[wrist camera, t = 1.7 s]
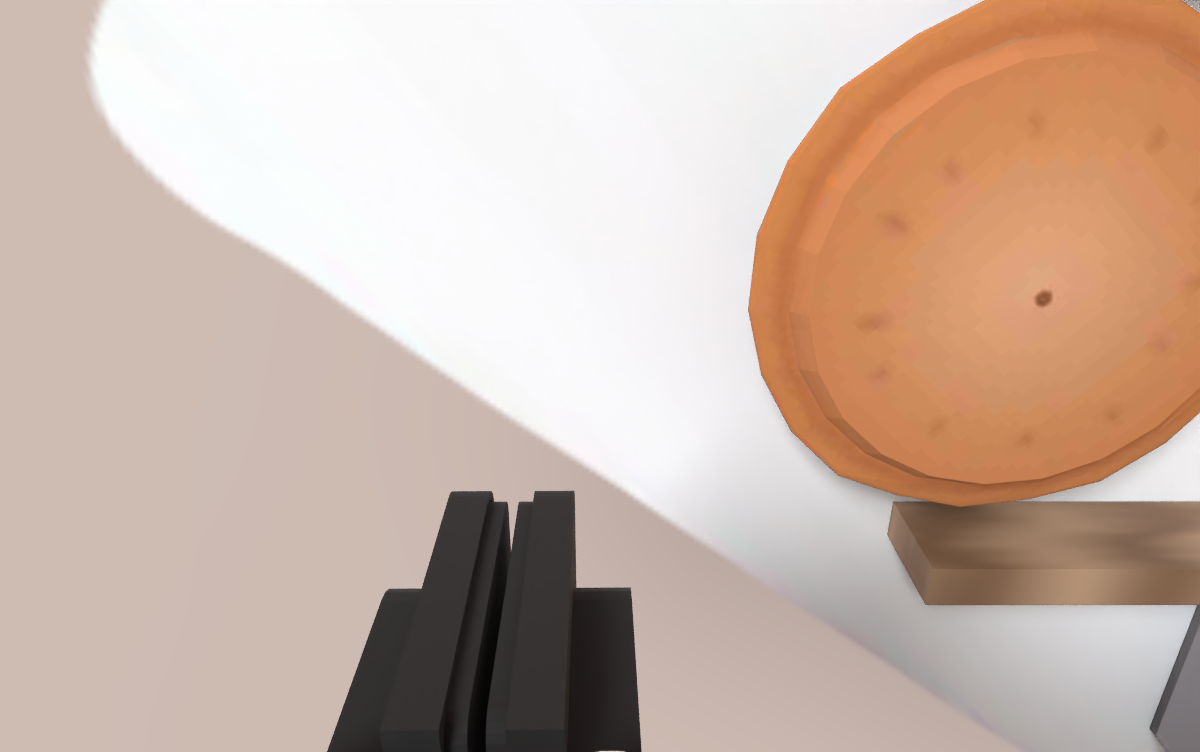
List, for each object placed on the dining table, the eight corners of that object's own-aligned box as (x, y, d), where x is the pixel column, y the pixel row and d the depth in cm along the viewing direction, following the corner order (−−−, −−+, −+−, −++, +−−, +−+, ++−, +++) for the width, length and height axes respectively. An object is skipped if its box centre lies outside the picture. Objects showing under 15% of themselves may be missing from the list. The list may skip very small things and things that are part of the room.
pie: (717, 22, 24) (745, 25, 19) (1263, -47, 23) (1428, -60, 18) (740, 472, 30) (765, 555, 25) (1167, 430, 29) (1272, 508, 25)
